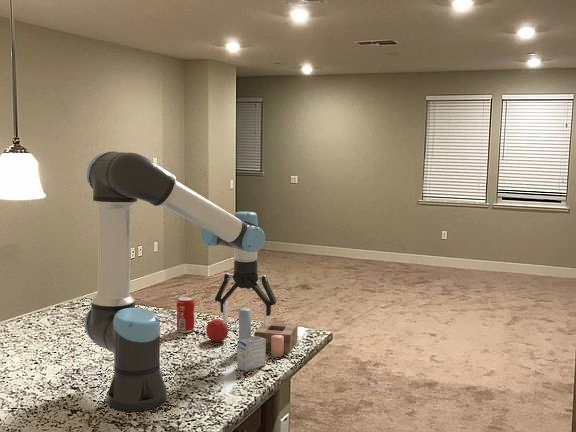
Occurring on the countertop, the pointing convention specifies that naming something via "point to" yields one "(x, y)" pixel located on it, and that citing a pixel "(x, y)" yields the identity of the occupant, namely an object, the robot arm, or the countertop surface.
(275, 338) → the short pin
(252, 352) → the medicine box
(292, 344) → the hole block
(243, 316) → the long pin
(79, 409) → the countertop surface
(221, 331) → the tomato
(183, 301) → the beverage can
